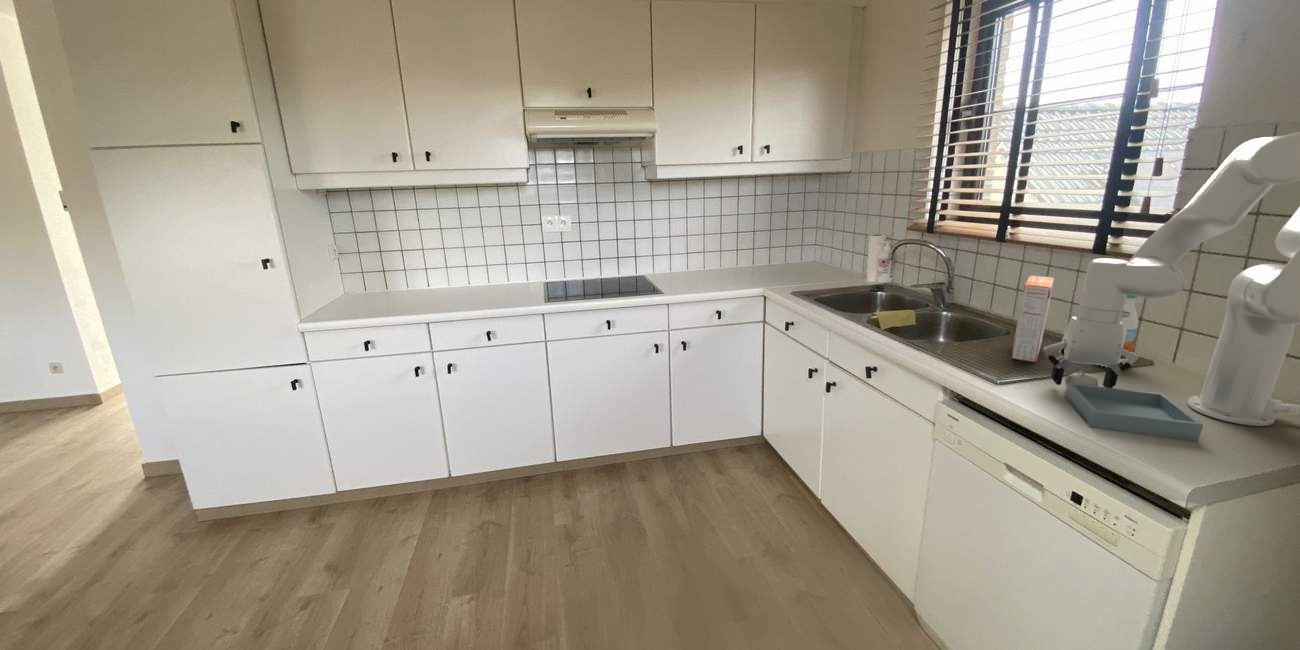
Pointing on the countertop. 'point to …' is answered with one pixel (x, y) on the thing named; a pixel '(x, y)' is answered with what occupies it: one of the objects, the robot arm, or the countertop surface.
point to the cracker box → (1032, 318)
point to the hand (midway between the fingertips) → (1081, 385)
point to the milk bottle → (1129, 326)
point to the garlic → (1081, 379)
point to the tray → (1132, 411)
